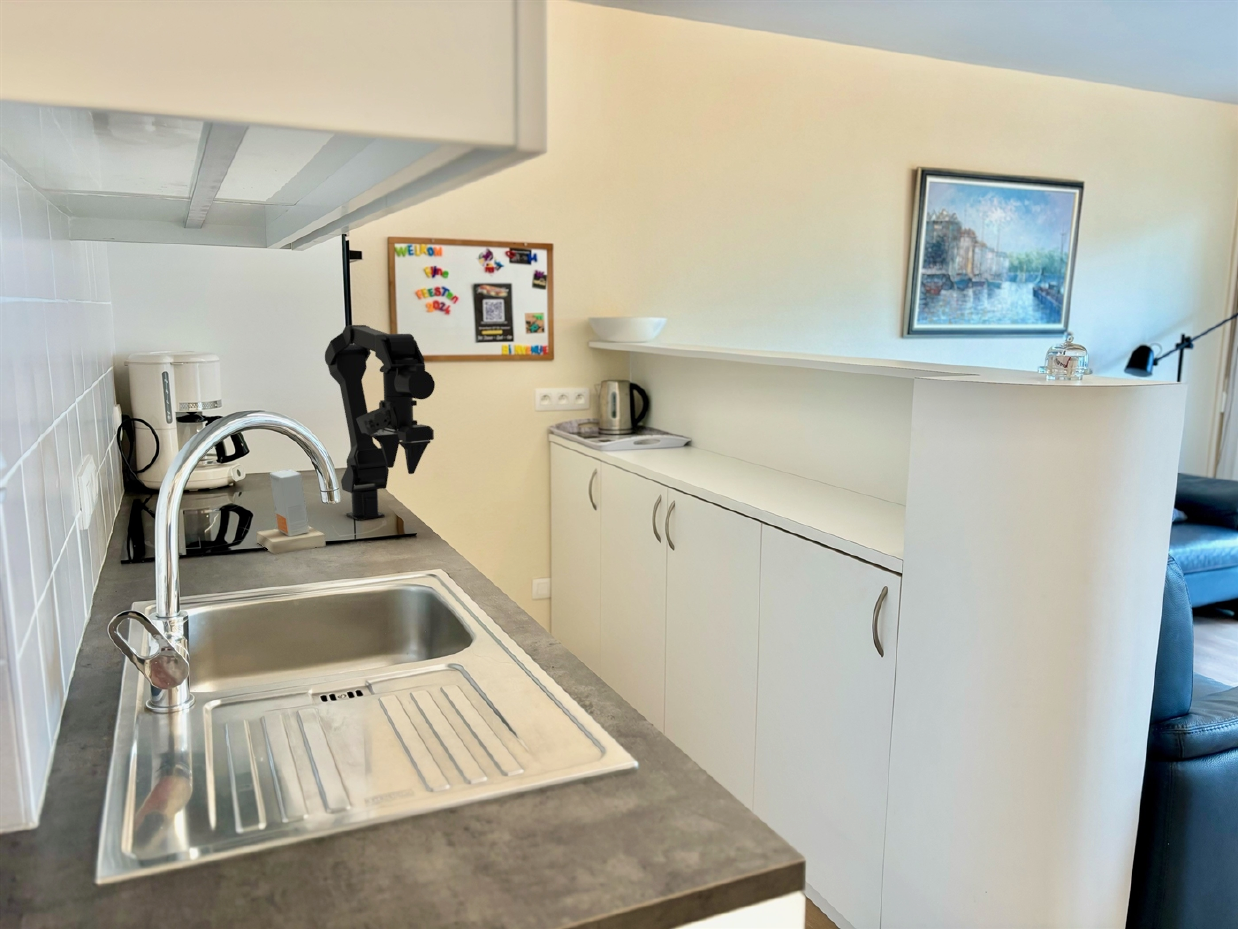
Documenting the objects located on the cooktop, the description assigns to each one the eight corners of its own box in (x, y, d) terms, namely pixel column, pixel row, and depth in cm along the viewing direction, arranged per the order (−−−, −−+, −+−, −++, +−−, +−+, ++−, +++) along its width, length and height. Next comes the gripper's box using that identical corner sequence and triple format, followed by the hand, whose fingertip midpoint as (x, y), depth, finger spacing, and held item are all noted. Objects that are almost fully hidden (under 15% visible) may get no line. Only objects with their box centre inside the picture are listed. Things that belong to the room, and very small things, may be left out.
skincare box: (277, 531, 179) (268, 472, 176) (298, 525, 181) (290, 468, 179) (288, 537, 174) (280, 477, 171) (310, 532, 177) (302, 473, 174)
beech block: (257, 546, 179) (256, 531, 178) (307, 539, 185) (306, 524, 184) (274, 557, 171) (273, 542, 171) (325, 549, 177) (324, 534, 177)
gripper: (341, 394, 186) (344, 468, 189) (382, 401, 172) (384, 481, 175) (391, 391, 193) (393, 463, 196) (434, 398, 179) (436, 475, 182)
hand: (400, 470), depth 187 cm, fingers open, 9 cm apart
